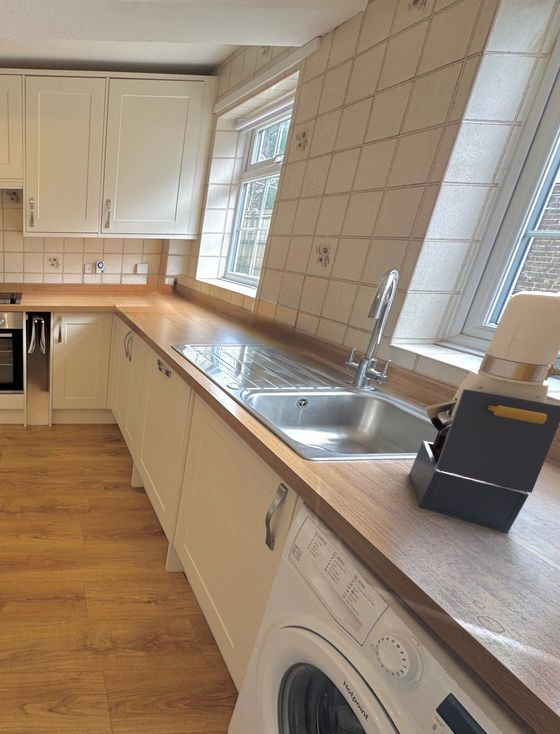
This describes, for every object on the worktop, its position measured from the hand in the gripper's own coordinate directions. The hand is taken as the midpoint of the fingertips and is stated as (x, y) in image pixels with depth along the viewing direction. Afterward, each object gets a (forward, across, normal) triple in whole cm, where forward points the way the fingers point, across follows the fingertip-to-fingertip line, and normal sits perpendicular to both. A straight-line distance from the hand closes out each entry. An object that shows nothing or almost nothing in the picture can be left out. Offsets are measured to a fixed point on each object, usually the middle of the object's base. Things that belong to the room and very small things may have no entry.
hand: (470, 460), depth 74 cm
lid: (-7, 0, +6) cm, 9 cm away
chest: (+8, 0, +1) cm, 8 cm away
